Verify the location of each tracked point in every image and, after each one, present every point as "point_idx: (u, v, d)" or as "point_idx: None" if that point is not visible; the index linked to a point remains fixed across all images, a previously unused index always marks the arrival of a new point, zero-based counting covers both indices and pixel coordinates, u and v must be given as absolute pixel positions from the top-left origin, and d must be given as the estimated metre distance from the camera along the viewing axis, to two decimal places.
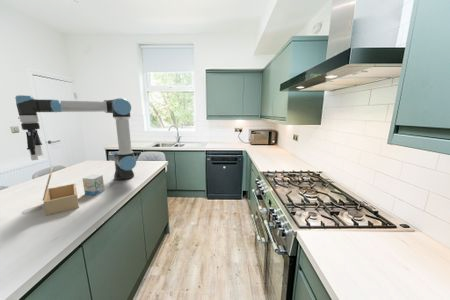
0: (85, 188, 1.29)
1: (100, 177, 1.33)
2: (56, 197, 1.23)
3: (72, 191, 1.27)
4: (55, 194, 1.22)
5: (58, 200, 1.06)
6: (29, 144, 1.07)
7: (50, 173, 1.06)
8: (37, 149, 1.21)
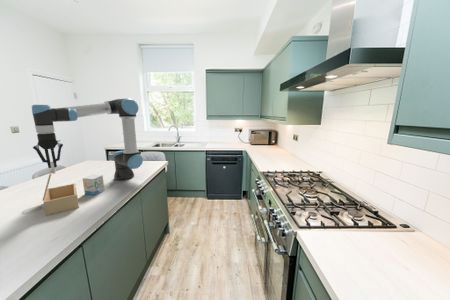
0: (85, 188, 1.29)
1: (100, 177, 1.33)
2: (56, 197, 1.23)
3: (72, 191, 1.27)
4: (55, 194, 1.22)
5: (58, 200, 1.06)
6: (41, 158, 1.08)
7: (50, 173, 1.06)
8: None
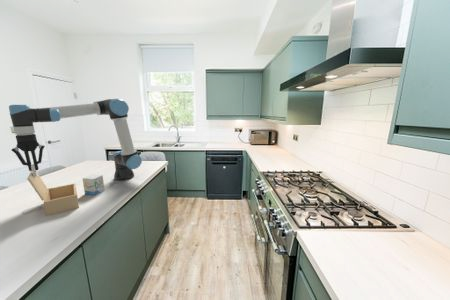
0: (85, 188, 1.29)
1: (100, 177, 1.33)
2: (56, 197, 1.23)
3: (72, 191, 1.27)
4: (55, 194, 1.22)
5: (58, 200, 1.06)
6: None
7: (28, 176, 1.00)
8: None
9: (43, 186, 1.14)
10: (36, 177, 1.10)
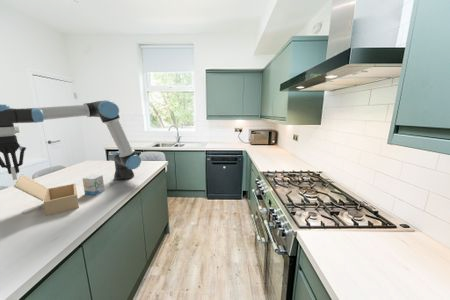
0: (85, 188, 1.29)
1: (100, 177, 1.33)
2: (56, 197, 1.23)
3: (72, 191, 1.27)
4: (55, 194, 1.22)
5: (58, 200, 1.06)
6: None
7: (15, 184, 0.98)
8: None
9: (40, 187, 1.13)
10: (27, 182, 1.08)
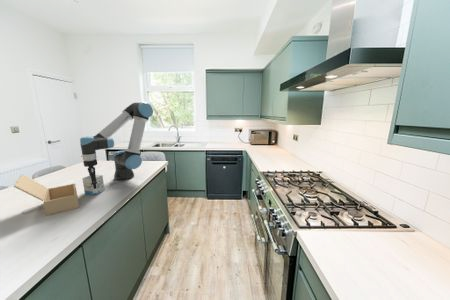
0: (85, 188, 1.29)
1: (100, 177, 1.33)
2: (56, 197, 1.23)
3: (72, 191, 1.27)
4: (55, 194, 1.22)
5: (58, 200, 1.06)
6: (93, 180, 1.24)
7: (15, 184, 0.98)
8: None
9: (40, 187, 1.13)
10: (27, 182, 1.08)
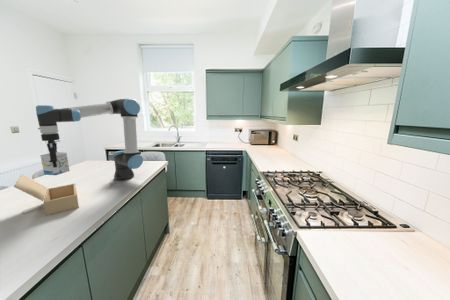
0: (44, 167, 1.08)
1: (63, 155, 1.12)
2: (56, 197, 1.23)
3: (72, 191, 1.27)
4: (55, 194, 1.22)
5: (58, 200, 1.06)
6: (52, 157, 1.04)
7: (15, 184, 0.98)
8: None
9: (40, 187, 1.13)
10: (27, 182, 1.08)
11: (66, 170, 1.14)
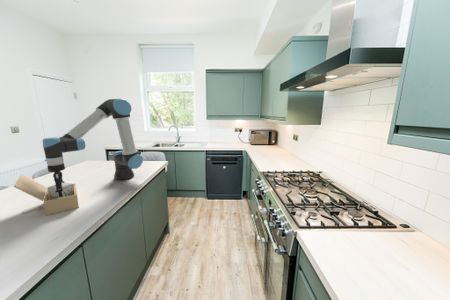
0: (51, 198, 1.12)
1: (69, 186, 1.16)
2: None
3: None
4: None
5: (58, 200, 1.06)
6: (58, 187, 1.07)
7: (15, 184, 0.98)
8: None
9: (40, 187, 1.13)
10: (27, 182, 1.08)
11: None
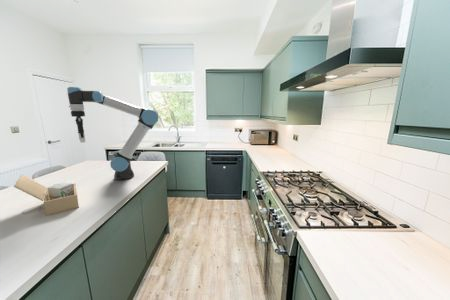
0: (51, 198, 1.12)
1: (69, 186, 1.16)
2: None
3: None
4: None
5: (58, 200, 1.06)
6: (80, 128, 1.26)
7: (15, 184, 0.98)
8: None
9: (40, 187, 1.13)
10: (27, 182, 1.08)
11: None
